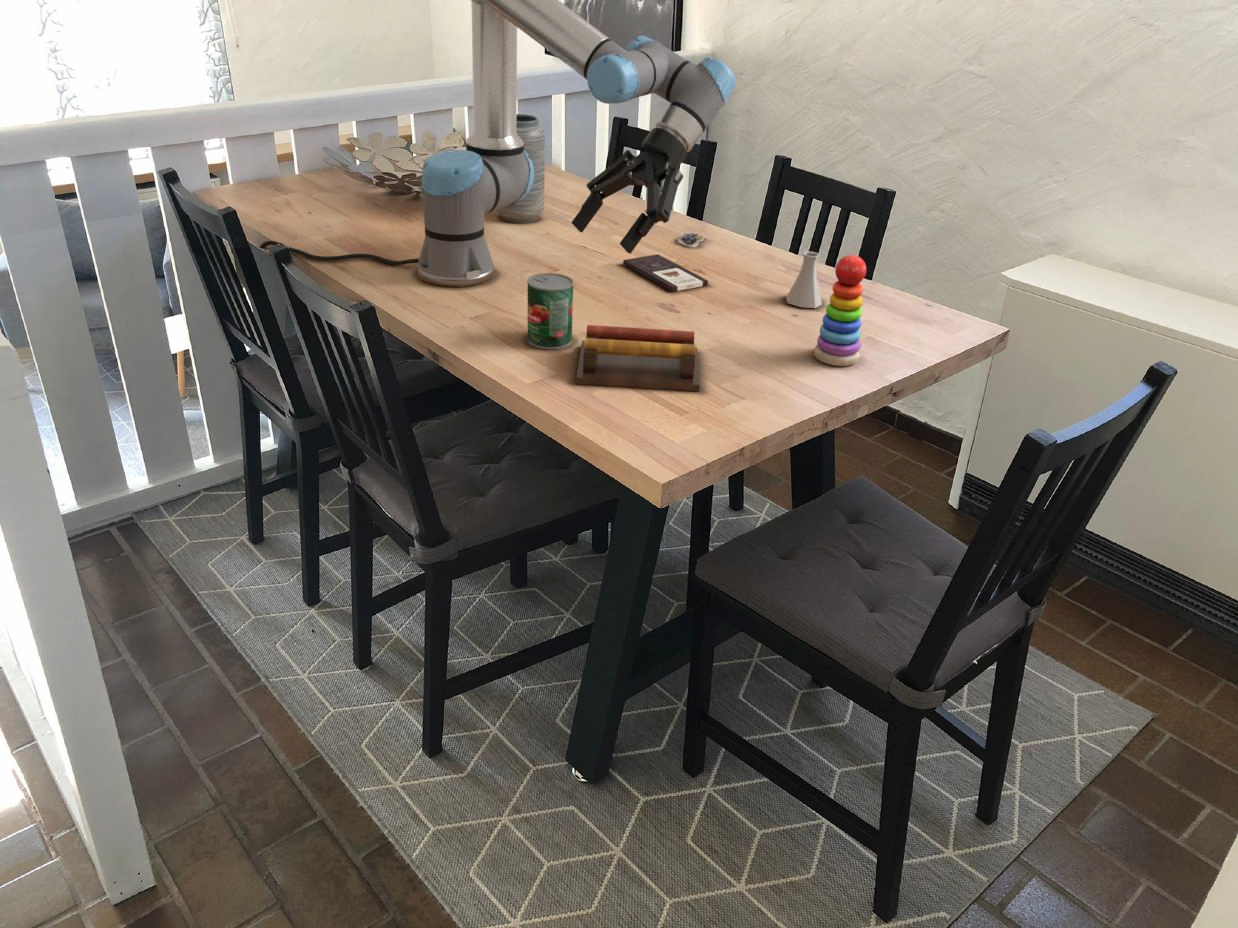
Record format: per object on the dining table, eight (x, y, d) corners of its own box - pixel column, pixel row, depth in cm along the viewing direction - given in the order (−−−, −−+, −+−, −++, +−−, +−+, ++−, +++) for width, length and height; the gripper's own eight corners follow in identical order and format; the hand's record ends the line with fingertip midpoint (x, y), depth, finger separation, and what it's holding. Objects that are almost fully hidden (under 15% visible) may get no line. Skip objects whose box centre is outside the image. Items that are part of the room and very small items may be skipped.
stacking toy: (808, 348, 176) (824, 247, 167) (851, 349, 177) (870, 248, 167) (819, 367, 169) (837, 262, 160) (864, 368, 170) (884, 263, 161)
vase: (524, 228, 228) (524, 125, 217) (485, 218, 234) (483, 117, 222) (553, 217, 237) (555, 118, 225) (514, 207, 242) (514, 110, 231)
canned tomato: (580, 339, 175) (582, 280, 169) (554, 353, 169) (556, 292, 163) (544, 328, 178) (545, 269, 173) (517, 341, 172) (517, 281, 167)
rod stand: (575, 384, 159) (576, 349, 156) (582, 346, 172) (583, 314, 169) (699, 391, 159) (702, 357, 156) (696, 353, 172) (699, 321, 169)
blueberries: (706, 238, 229) (707, 230, 228) (705, 249, 222) (706, 240, 221) (677, 236, 229) (678, 228, 228) (676, 246, 223) (676, 238, 222)
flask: (824, 299, 198) (832, 251, 193) (818, 311, 192) (827, 262, 187) (789, 293, 200) (796, 245, 195) (782, 305, 194) (789, 256, 189)
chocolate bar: (658, 254, 214) (708, 280, 201) (657, 258, 214) (707, 285, 201) (623, 260, 209) (672, 287, 197) (623, 264, 210) (671, 291, 197)
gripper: (730, 169, 166) (657, 270, 165) (636, 140, 183) (569, 231, 182) (710, 140, 161) (635, 245, 160) (615, 112, 177) (546, 207, 176)
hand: (600, 238), depth 171 cm, fingers open, 13 cm apart
